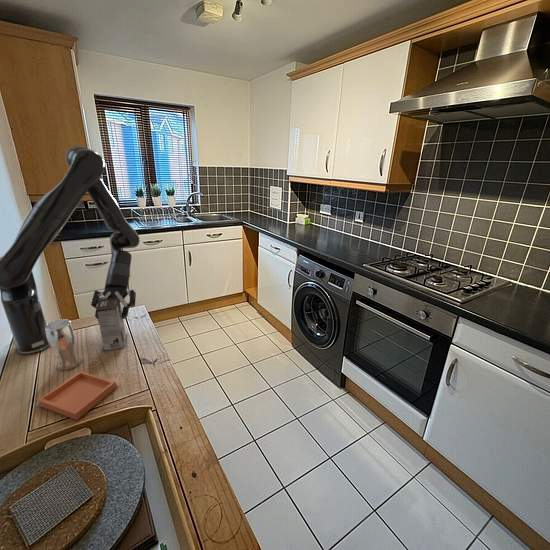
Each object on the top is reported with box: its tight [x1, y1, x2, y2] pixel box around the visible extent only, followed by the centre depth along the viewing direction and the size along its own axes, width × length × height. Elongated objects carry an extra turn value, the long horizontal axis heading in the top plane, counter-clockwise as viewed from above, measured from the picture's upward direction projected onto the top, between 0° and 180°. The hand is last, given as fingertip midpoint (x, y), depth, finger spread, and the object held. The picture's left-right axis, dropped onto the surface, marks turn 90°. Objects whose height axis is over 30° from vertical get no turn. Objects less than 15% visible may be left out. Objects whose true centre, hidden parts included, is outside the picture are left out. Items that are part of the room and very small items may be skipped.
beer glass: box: [44, 318, 81, 371], centre depth 92 cm, size 7×7×15 cm
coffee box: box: [95, 297, 127, 351], centre depth 104 cm, size 9×6×16 cm
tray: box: [37, 370, 118, 421], centre depth 81 cm, size 14×13×2 cm
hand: (111, 318), depth 103 cm, fingers open, 8 cm apart
